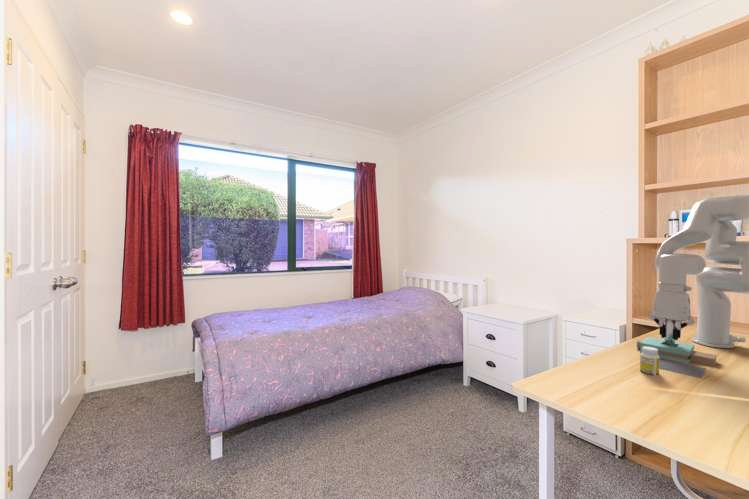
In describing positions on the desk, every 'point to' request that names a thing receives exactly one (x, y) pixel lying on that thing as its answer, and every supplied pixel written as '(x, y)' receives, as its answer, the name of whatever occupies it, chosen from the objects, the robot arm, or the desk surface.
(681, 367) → the rubber mat
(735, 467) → the desk surface
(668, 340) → the steel pin
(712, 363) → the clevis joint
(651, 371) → the supplement bottle
